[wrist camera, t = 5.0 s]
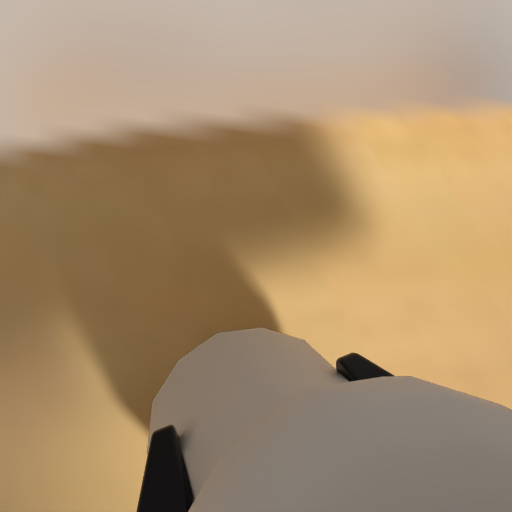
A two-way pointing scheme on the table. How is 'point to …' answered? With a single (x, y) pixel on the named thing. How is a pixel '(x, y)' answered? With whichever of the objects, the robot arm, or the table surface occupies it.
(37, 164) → the table surface
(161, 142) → the table surface
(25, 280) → the table surface
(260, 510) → the salt shaker
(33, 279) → the table surface
